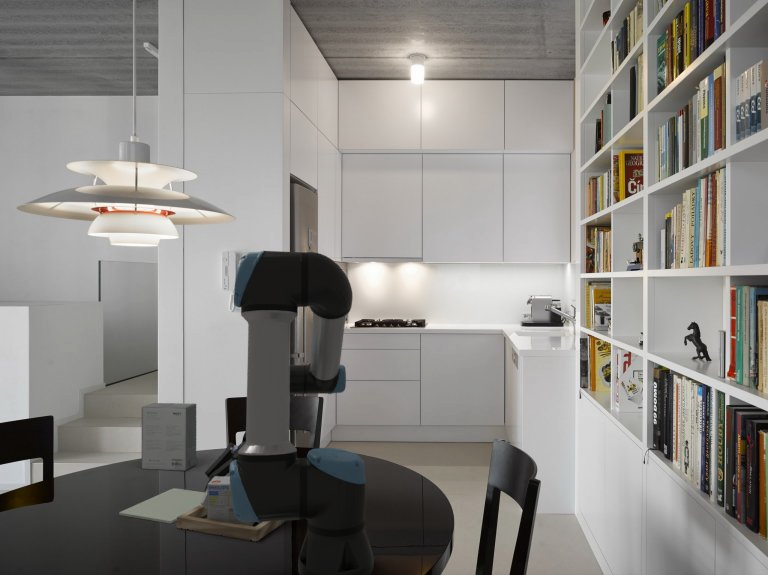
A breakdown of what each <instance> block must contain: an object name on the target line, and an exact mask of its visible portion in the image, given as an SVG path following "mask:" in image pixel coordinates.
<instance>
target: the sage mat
mask: <svg viewBox="0 0 768 575" xmlns="http://www.w3.org/2000/svg"><path fill="white" fill-rule="evenodd" d="M204 494H205V491H203V492H202V491H195V490H189V489H182V488H176V487H175V488H174V487H173V488H171V489H169V490H167V491H166V490H165V492H162V493H159V494H158V495H155V496H152V497H151V498H149V499H146V500H144V501H142V502H139V503H137V504H135V505H133V506H130V507H128V508H126V509H124V510H121V511H119V512H118V515H119V516H123V517H124V516H125V517H129V518H133V519H134V518H135V519H142V520H145V521H154V522H159V523H165V524H173V523H175V522H177V517H178V516H180V515H182V514H184V513H186V512H188V511H190V510H192V509H194V508H195V507H197V506H199V505H201V503H200V502H201V500H202V498H203V496H204Z"/></svg>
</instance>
